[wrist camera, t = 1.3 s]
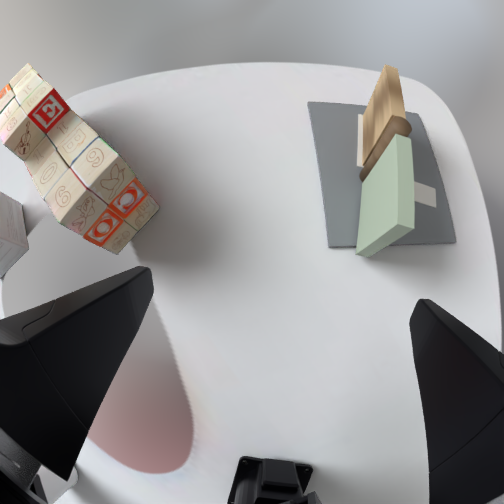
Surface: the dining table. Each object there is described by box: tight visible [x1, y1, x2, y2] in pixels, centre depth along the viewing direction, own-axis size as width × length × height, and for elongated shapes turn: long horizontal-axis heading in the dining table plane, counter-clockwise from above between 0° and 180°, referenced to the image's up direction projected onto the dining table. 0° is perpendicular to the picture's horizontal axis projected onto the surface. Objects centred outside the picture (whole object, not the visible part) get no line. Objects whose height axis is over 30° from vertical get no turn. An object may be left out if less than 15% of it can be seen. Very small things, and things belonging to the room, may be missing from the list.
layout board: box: [308, 102, 456, 247], centre depth 25 cm, size 16×14×1 cm
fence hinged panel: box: [356, 134, 415, 257], centre depth 19 cm, size 7×1×8 cm, turn 168°
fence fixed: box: [359, 65, 412, 182], centre depth 21 cm, size 9×2×8 cm, turn 168°
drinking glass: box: [37, 465, 78, 504], centre depth 11 cm, size 7×7×15 cm
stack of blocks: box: [0, 63, 160, 255], centre depth 20 cm, size 21×6×12 cm, turn 48°
